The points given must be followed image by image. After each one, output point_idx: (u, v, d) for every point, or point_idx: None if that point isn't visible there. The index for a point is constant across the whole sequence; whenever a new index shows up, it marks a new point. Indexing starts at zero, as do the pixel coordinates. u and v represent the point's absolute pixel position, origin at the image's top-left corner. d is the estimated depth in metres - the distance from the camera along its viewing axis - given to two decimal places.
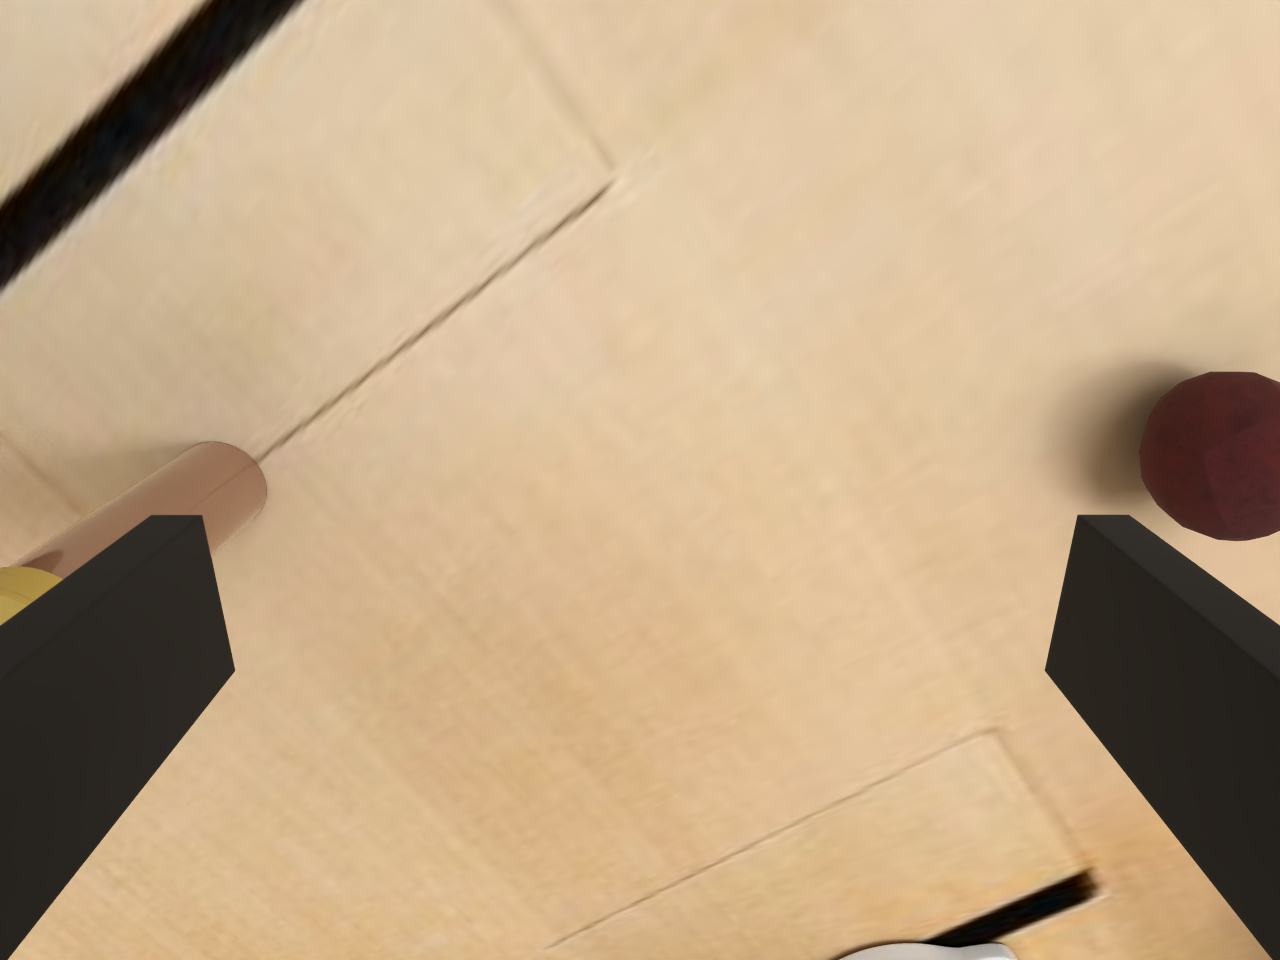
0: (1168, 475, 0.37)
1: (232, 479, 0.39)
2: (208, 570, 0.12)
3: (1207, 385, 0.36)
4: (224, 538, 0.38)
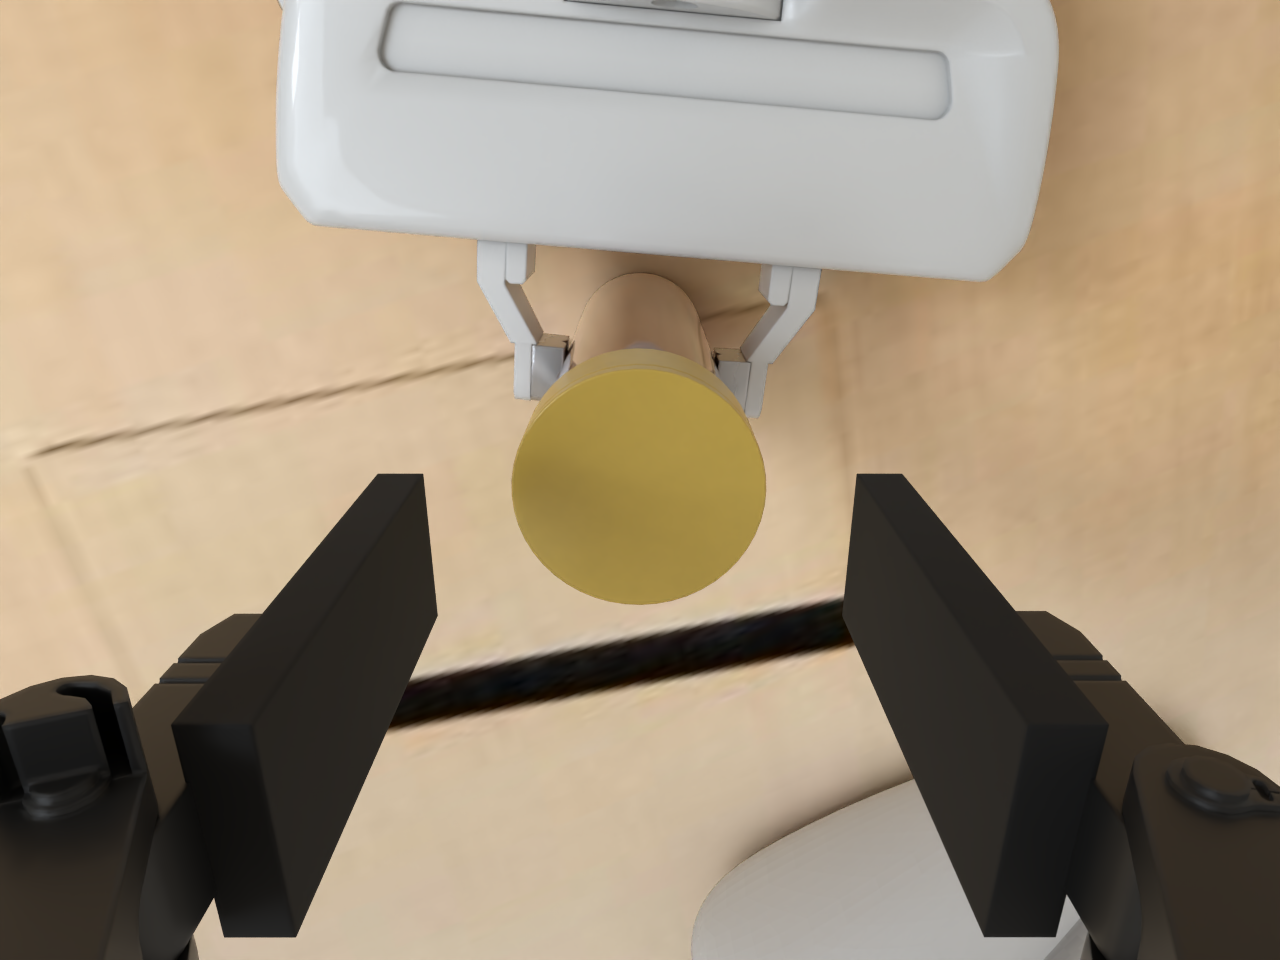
0: None
1: None
2: (425, 524, 0.14)
3: None
4: (591, 310, 0.26)
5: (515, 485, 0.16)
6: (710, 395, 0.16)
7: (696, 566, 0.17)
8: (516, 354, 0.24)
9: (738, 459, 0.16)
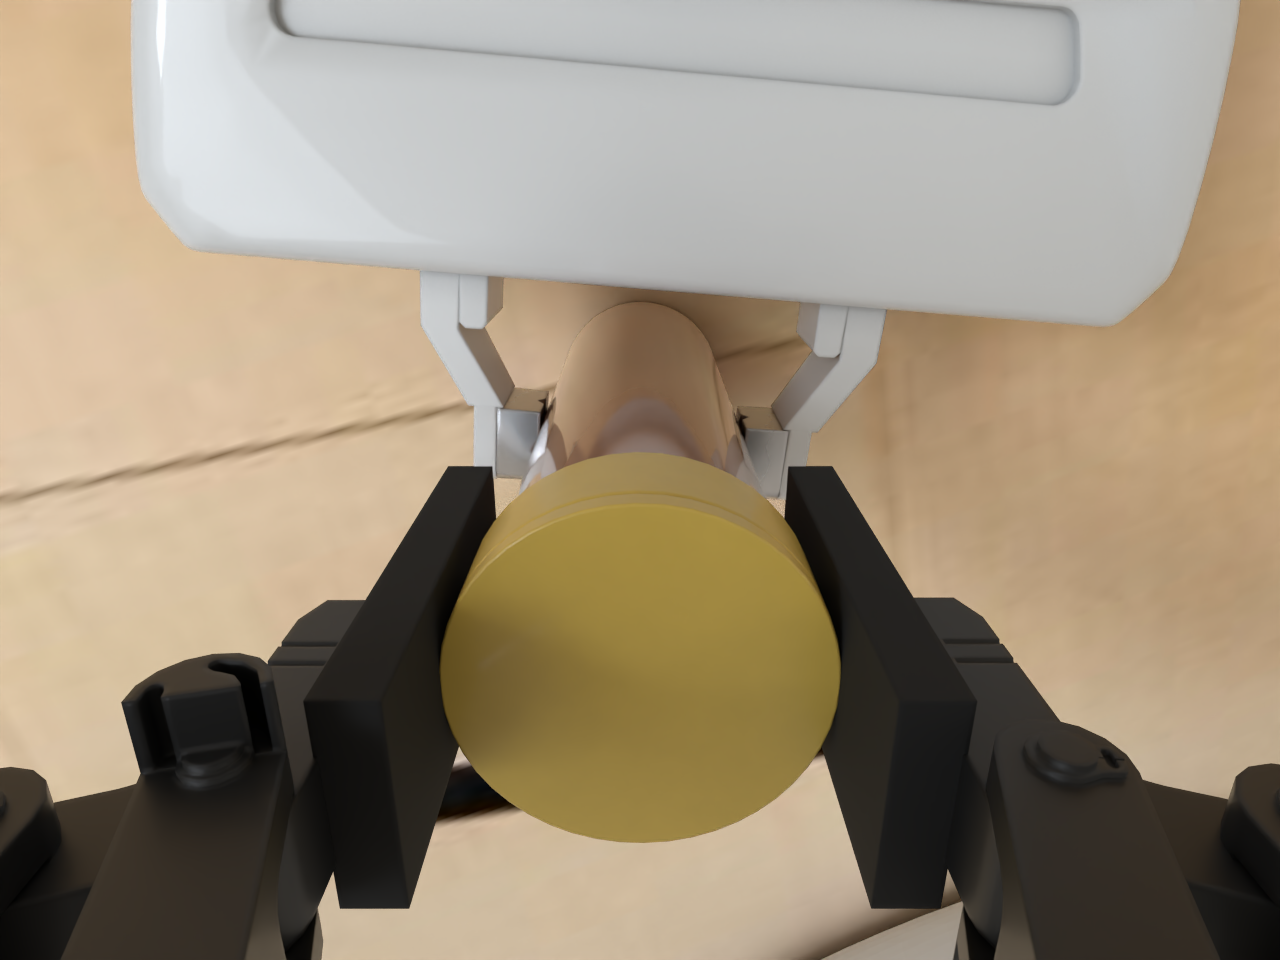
0: None
1: None
2: (494, 515, 0.14)
3: None
4: (577, 356, 0.20)
5: (445, 676, 0.10)
6: (756, 544, 0.10)
7: (729, 790, 0.11)
8: (476, 420, 0.18)
9: (799, 639, 0.10)
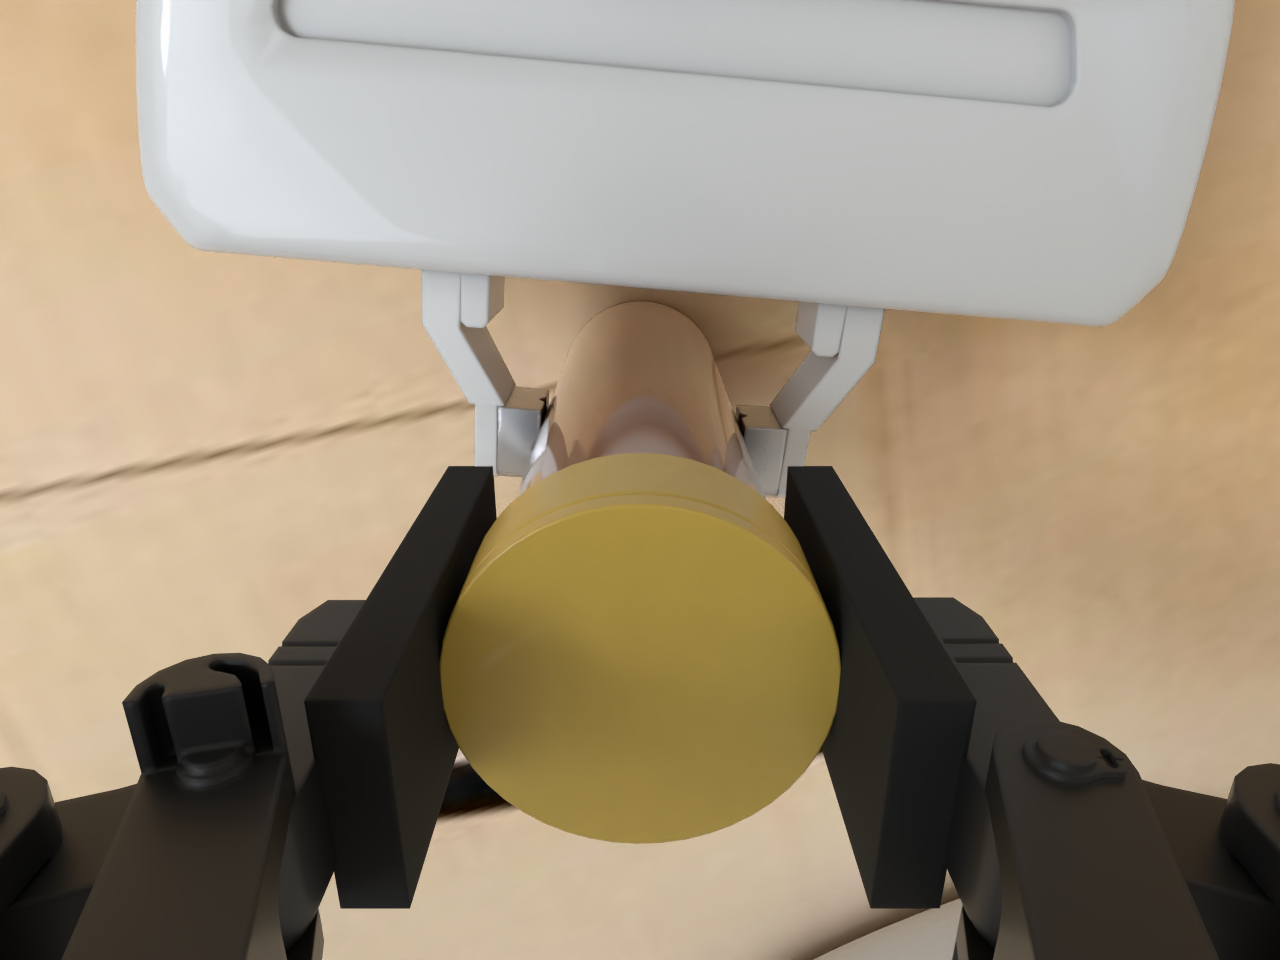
0: None
1: None
2: (494, 515, 0.14)
3: None
4: (578, 355, 0.20)
5: (554, 822, 0.11)
6: (531, 540, 0.10)
7: (798, 661, 0.10)
8: (477, 418, 0.18)
9: (652, 540, 0.10)
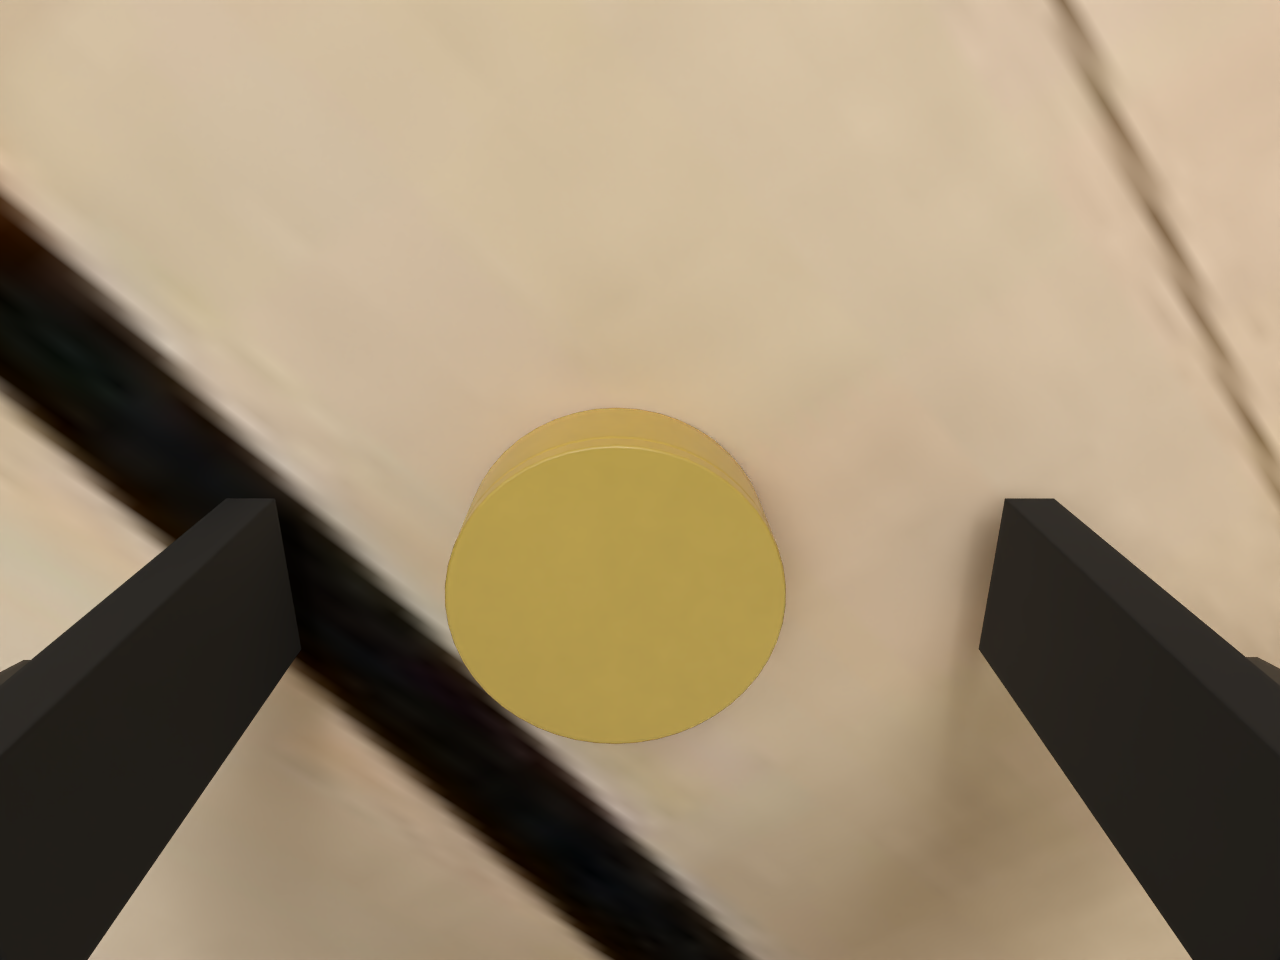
0: None
1: None
2: (280, 552, 0.13)
3: None
4: None
5: (544, 725, 0.13)
6: (522, 477, 0.11)
7: (749, 579, 0.12)
8: None
9: (624, 476, 0.12)
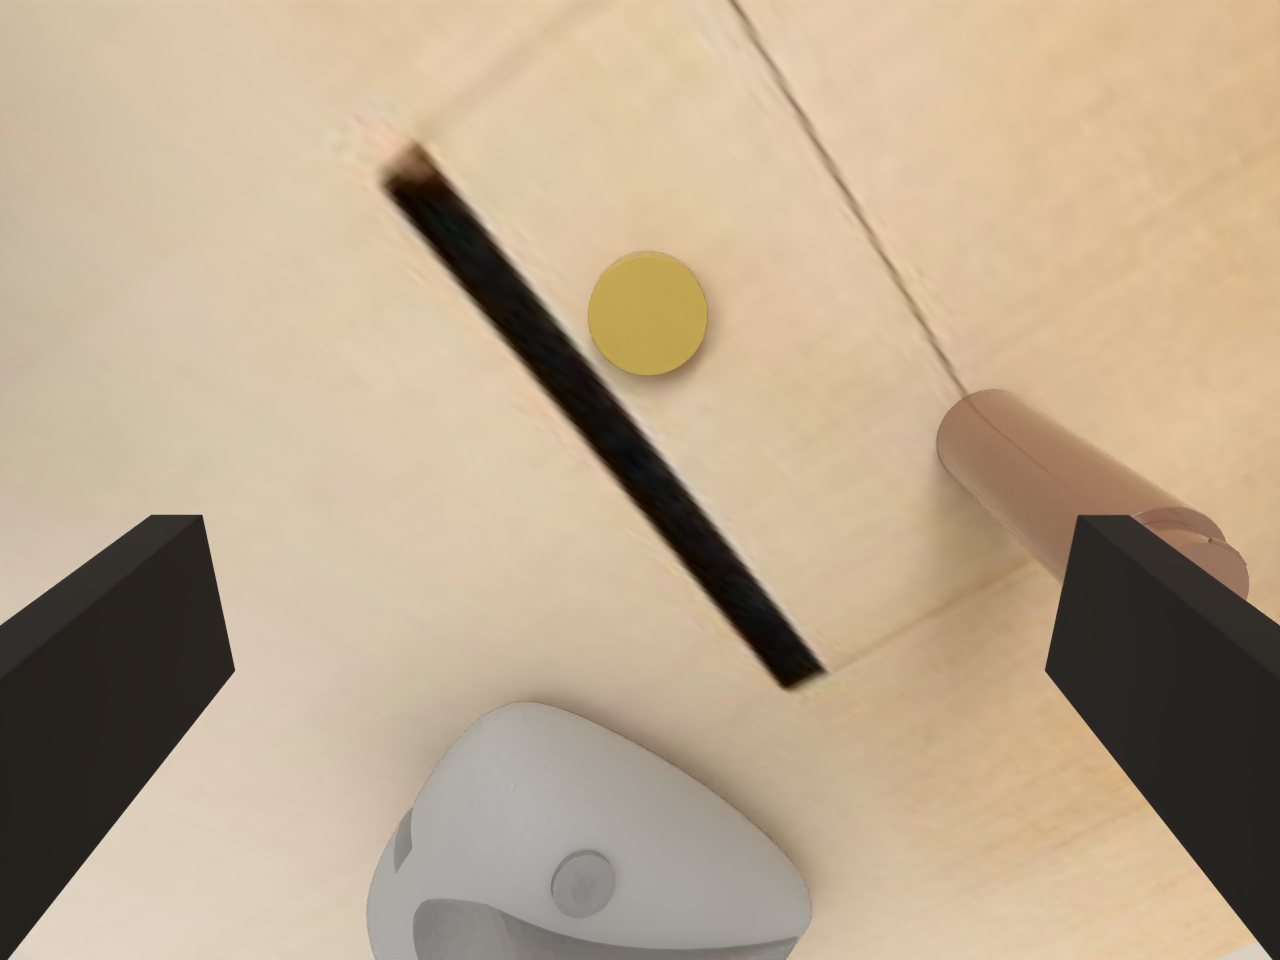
0: None
1: (986, 412, 0.36)
2: (208, 570, 0.12)
3: None
4: (1058, 422, 0.34)
5: (621, 367, 0.36)
6: (616, 267, 0.34)
7: (694, 307, 0.35)
8: None
9: (651, 267, 0.34)
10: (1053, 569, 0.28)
